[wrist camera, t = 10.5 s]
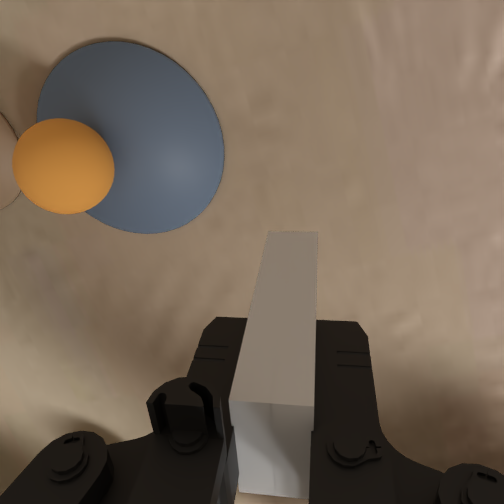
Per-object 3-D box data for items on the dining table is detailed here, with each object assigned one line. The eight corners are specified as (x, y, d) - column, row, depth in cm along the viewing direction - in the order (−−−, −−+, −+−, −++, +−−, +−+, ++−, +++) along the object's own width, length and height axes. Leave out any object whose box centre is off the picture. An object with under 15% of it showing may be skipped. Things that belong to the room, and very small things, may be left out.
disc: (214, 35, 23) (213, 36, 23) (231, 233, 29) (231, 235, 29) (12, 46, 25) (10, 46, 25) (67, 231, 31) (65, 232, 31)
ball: (96, 107, 28) (101, 112, 23) (121, 190, 30) (130, 210, 25) (3, 125, 26) (-13, 134, 21) (36, 211, 28) (29, 236, 24)
